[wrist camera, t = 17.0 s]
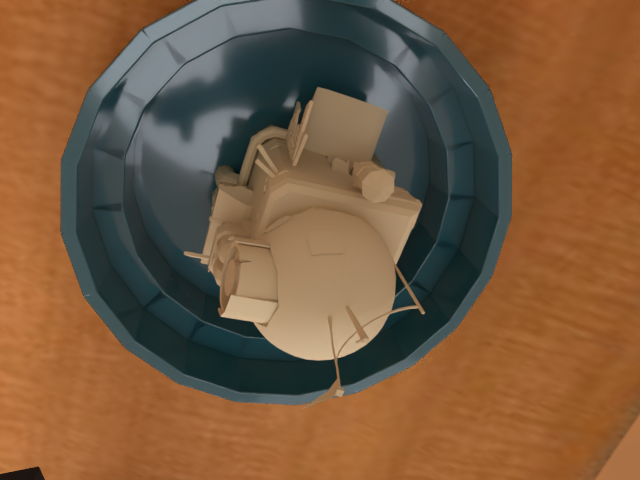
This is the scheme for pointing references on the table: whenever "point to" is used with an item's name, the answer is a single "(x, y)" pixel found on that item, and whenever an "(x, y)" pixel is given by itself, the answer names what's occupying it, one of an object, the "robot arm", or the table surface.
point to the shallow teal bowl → (230, 149)
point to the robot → (311, 232)
